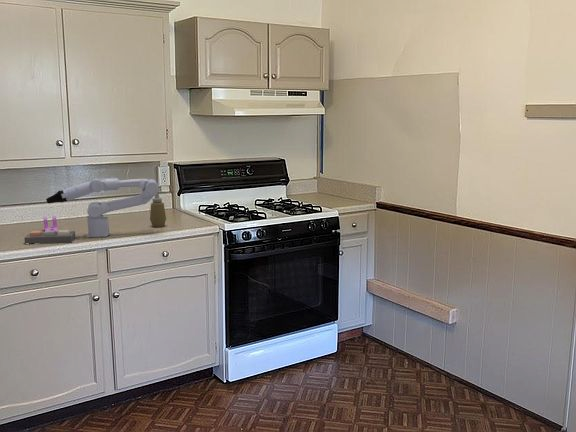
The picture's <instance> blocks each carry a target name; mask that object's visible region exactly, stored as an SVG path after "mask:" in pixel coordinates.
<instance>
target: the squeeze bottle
mask: <svg viewBox="0 0 576 432" xmlns="http://www.w3.org/2000/svg"><path fill="white" fill-rule="evenodd" d="M151 200H152V202H151V203H150V209H149V210H150V211H149V212H150V213H149V221H150V224H151V226H152V227H154V228H162V227H164V226H165V224H166V220H167V216H166V209H165V204H164V202H163V199H162V197H160V193H159V191H158V192H157V194H156V195H155V196H154V197H153V198H152V199H151Z"/></svg>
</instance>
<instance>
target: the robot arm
mask: <svg viewBox="0 0 576 432" xmlns="http://www.w3.org/2000/svg"><path fill="white" fill-rule="evenodd" d="M135 187H136V188H139V189H141V190H142V191H141V192H140V194H138V195H133V196H129V197H124V198H119V199H113V200H109V201H102V202H101V201H100V202H98V201H92V202H90V203H89V205H87V206H88V208H87V210H86V211H87V212H86V213H87V214H88V215H87V218H86V219H87V230H88V231H87V232H88V233H87V235H86V238H97V237H98V238H101V237H105V238H107V237H108V235H110V224H109V217H108V216H104V215H105V214H107V213H110V212H115V211H119V210H120V211H121V210H124V209H127V208H132V207H138V206H143V205H146V204H148V203H149V202H150V201H151V200H152V199H153V198H155V195H156V194H157V192H158V193H159V188H160V187H159V184H158V182H157V181H156V180H155V179H154V178H133V179H123V180H120V179H119V178H118V177H115V176H111V177H110V178H103V177H100V178H93V179H91V181H86V182H83V183H79V184H77V185H73V186H70V187H66V186H63V190H58V191H57V192H56V193H55V194H53V195H51V196H49V197H46V203H47V204H54V203H65V202H71V201H72V200H75V199H78V198H81V197H84V196H87V195H90V194H92V193H100V192H101V191H102V192H103V191H104V192H107V191H118V190H119V189H120V188H135Z"/></svg>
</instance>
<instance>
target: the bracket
mask: <svg viewBox="0 0 576 432" xmlns="http://www.w3.org/2000/svg"><path fill="white" fill-rule="evenodd" d="M57 221H58V220H57V217H56V215H53V216H52V226H48V225H49V224H48V217H47V216H43V229H44V232H45V231H46V230H56V232H58V231H59V230H60V229H58V224H57V223H58V222H57Z"/></svg>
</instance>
